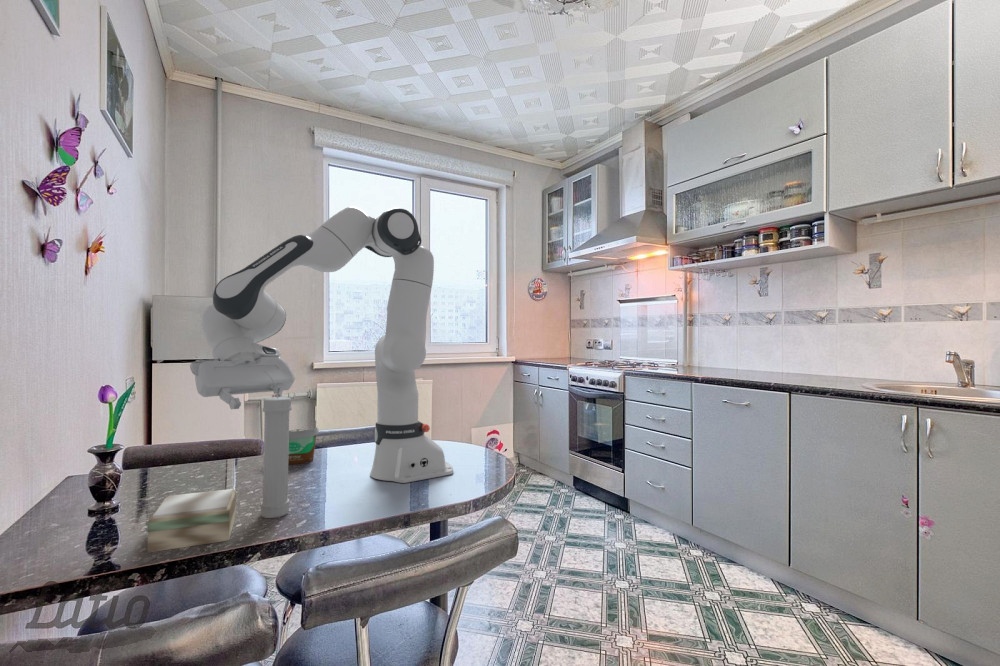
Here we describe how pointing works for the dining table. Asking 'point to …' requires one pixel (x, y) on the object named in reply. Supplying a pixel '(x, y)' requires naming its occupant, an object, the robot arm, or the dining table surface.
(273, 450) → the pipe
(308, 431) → the food container
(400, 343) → the robot arm
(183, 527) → the stand
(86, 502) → the dining table surface
